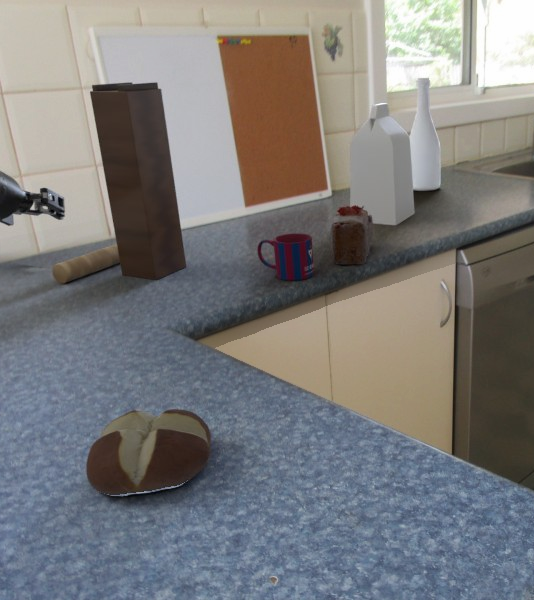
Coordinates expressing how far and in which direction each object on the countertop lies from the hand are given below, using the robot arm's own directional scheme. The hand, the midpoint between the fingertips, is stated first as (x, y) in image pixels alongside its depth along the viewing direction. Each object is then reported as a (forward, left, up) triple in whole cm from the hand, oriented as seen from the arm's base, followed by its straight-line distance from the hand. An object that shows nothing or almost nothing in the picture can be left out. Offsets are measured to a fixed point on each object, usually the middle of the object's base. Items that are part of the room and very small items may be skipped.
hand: (36, 217), depth 115 cm
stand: (+17, -4, -11) cm, 21 cm away
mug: (+38, -18, -12) cm, 44 cm away
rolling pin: (+10, +3, -10) cm, 14 cm away
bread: (+9, -69, -12) cm, 71 cm away
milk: (+71, +12, -12) cm, 73 cm away
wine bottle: (+96, +38, -12) cm, 104 cm away
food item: (+53, -13, -12) cm, 56 cm away
